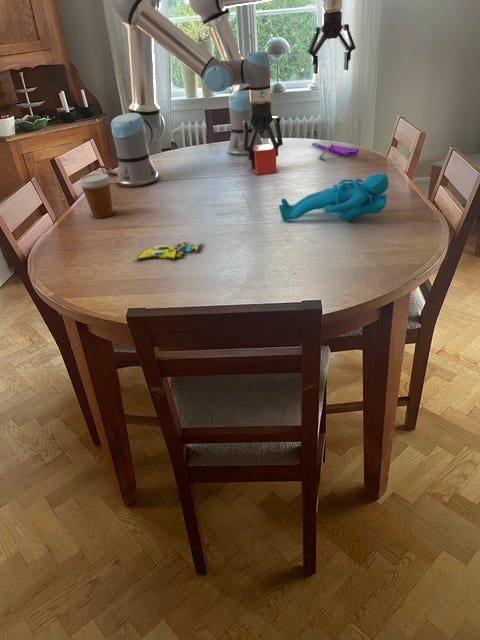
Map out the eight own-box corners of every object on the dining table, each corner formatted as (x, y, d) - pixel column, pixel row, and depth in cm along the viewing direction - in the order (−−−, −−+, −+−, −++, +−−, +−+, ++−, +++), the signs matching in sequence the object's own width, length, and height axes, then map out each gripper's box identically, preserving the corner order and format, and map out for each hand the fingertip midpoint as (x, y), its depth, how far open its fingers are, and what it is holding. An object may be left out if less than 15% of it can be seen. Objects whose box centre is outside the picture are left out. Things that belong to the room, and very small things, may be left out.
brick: (257, 175, 179) (255, 151, 174) (251, 169, 186) (250, 146, 181) (276, 172, 180) (275, 148, 175) (270, 166, 187) (269, 143, 182)
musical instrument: (347, 164, 184) (366, 144, 196) (347, 159, 183) (366, 139, 195) (292, 163, 197) (312, 145, 209) (291, 158, 195) (312, 140, 208)
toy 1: (193, 256, 121) (136, 257, 123) (194, 259, 121) (137, 260, 123) (201, 240, 129) (147, 241, 131) (201, 243, 130) (148, 244, 132)
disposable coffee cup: (82, 218, 153) (72, 181, 147) (99, 208, 161) (91, 172, 154) (106, 220, 150) (97, 182, 143) (123, 210, 157) (115, 173, 151)
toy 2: (282, 188, 144) (385, 161, 134) (291, 220, 149) (391, 197, 139) (274, 208, 131) (387, 180, 120) (284, 243, 136) (394, 219, 125)
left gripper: (234, 106, 165) (240, 173, 177) (291, 99, 168) (292, 165, 180) (229, 103, 171) (235, 168, 183) (284, 97, 174) (286, 160, 187)
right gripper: (305, 14, 183) (305, 75, 195) (365, 8, 187) (362, 69, 199) (298, 14, 189) (299, 74, 201) (357, 8, 194) (354, 67, 205)
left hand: (263, 166), depth 182 cm, fingers closed on brick, 8 cm apart
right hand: (330, 71), depth 200 cm, fingers open, 13 cm apart
